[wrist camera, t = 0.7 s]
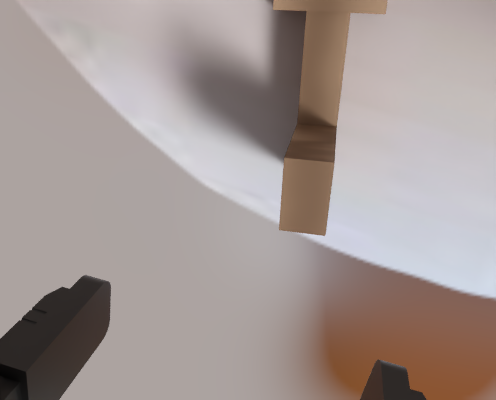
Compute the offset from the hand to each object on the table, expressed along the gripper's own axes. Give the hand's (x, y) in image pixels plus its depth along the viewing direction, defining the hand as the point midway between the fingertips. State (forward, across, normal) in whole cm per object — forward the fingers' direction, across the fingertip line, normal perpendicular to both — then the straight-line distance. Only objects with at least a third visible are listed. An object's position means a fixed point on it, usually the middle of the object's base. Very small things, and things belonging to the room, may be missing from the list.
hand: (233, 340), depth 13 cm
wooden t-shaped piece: (+19, 0, -4) cm, 20 cm away
